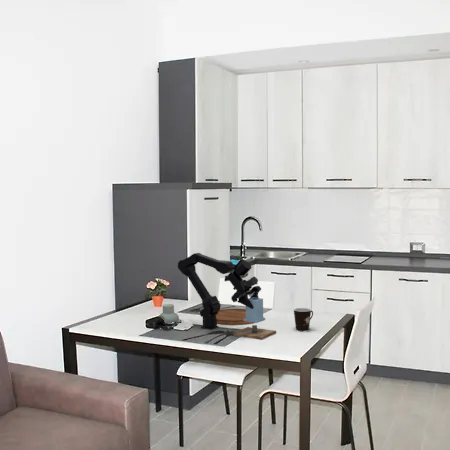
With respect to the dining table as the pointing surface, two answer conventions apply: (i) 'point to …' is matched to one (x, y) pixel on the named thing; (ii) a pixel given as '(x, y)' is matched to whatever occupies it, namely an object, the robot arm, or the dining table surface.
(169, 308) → the air freshener
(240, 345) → the dining table surface
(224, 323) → the cutting board
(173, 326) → the dining table surface
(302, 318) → the coffee mug
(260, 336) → the locating plate
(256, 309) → the light blue square holder
